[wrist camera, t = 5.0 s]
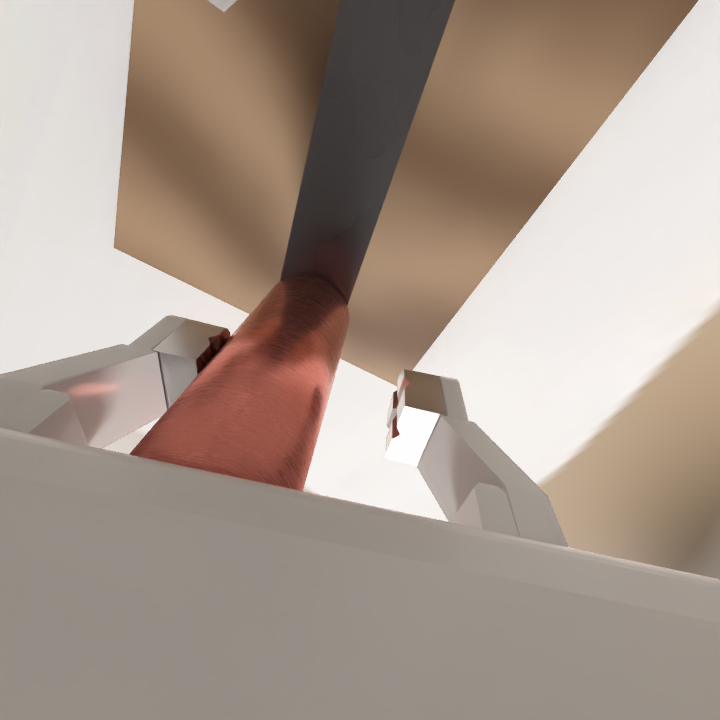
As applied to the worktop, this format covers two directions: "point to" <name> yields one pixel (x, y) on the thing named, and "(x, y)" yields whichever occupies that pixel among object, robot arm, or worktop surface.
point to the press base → (416, 163)
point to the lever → (311, 259)
